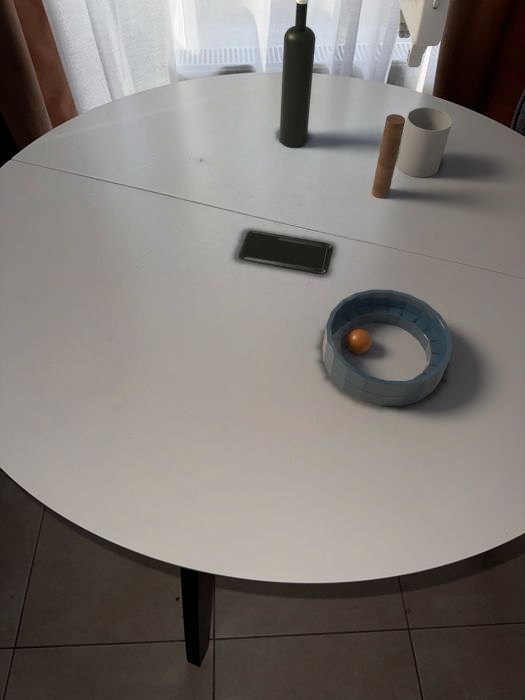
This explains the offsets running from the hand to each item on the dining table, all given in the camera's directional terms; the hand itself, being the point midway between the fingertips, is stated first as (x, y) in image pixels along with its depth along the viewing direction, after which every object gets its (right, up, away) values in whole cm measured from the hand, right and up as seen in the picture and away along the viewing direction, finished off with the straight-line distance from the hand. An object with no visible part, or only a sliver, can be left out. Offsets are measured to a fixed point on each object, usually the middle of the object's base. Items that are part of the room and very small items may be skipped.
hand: (407, 50), depth 86 cm
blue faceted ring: (-4, -46, -1) cm, 46 cm away
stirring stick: (0, -16, +23) cm, 28 cm away
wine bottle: (-15, -1, +35) cm, 38 cm away
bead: (-8, -44, -2) cm, 44 cm away
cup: (+10, -8, +30) cm, 33 cm away
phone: (-18, -29, +13) cm, 36 cm away
